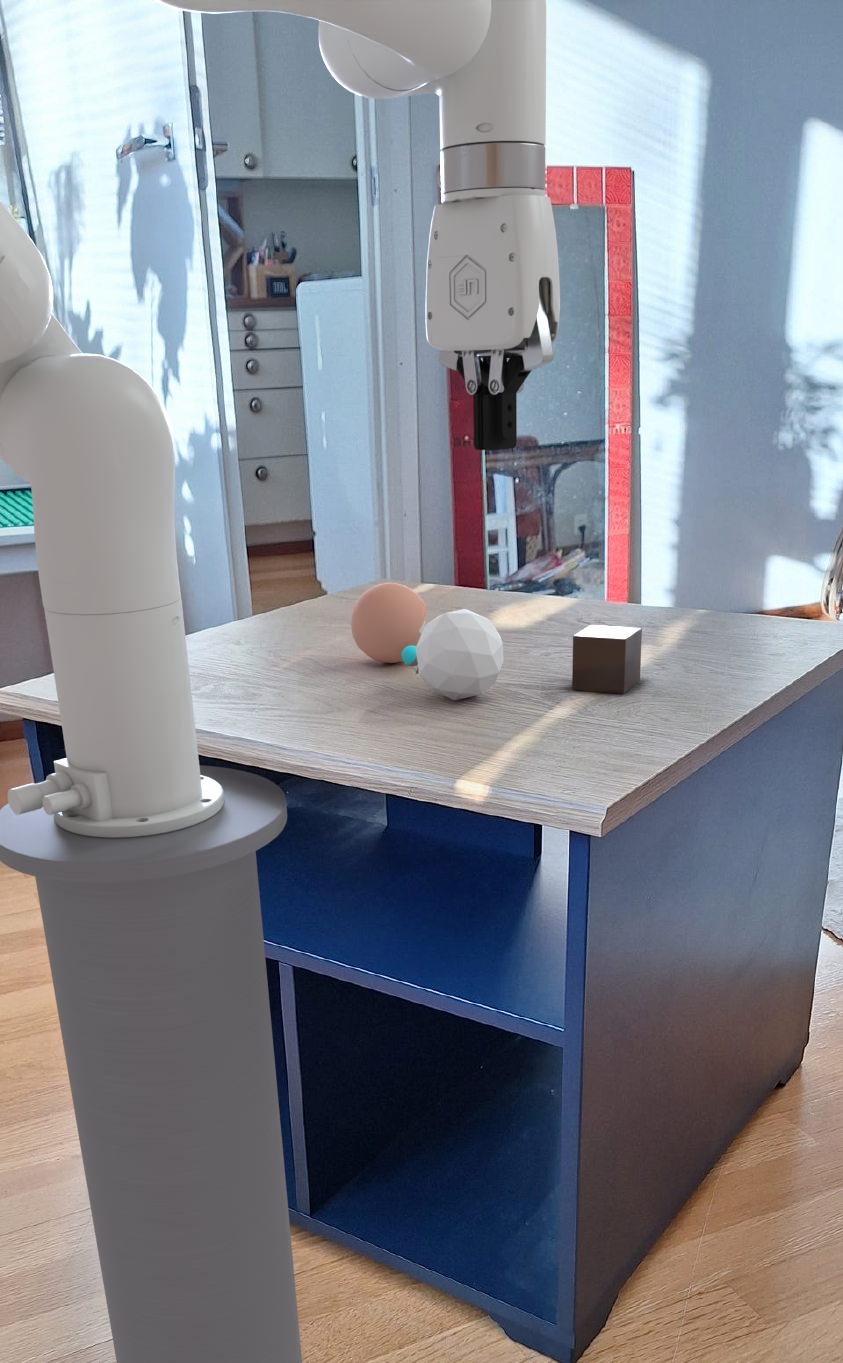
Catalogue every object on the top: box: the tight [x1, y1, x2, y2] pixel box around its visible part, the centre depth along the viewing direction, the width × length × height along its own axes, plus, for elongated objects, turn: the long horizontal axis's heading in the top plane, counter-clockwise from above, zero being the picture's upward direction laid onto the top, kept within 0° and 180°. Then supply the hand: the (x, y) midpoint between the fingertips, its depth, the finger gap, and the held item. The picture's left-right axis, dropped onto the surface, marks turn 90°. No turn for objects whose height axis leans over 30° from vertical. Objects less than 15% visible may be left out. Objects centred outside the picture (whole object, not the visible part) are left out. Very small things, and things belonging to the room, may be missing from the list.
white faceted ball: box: [402, 608, 505, 701], centre depth 118 cm, size 8×8×12 cm
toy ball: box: [350, 582, 427, 664], centre depth 130 cm, size 8×8×8 cm
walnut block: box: [571, 624, 643, 695], centre depth 119 cm, size 5×5×5 cm
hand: (495, 448), depth 100 cm, fingers closed
